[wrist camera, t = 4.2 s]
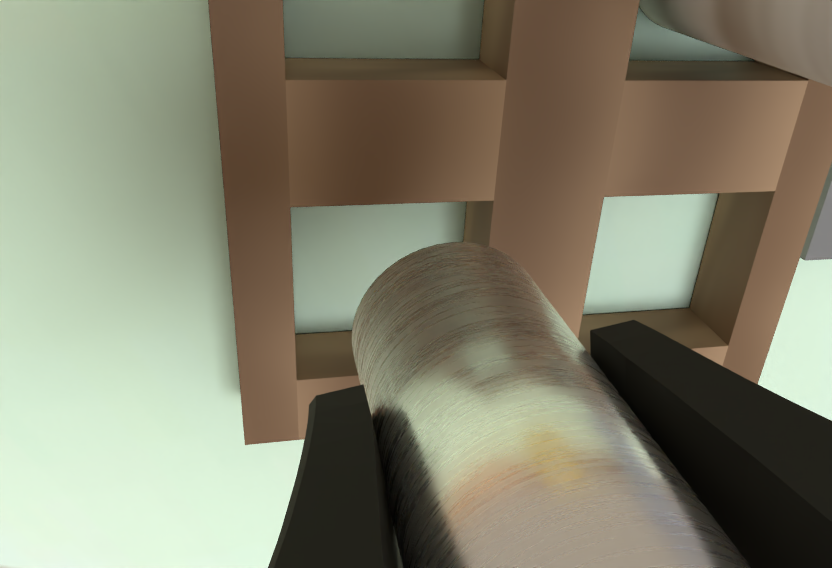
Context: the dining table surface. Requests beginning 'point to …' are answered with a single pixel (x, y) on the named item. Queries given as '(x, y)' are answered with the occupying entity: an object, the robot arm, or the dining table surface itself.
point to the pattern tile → (820, 226)
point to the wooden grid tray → (525, 163)
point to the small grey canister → (512, 430)
